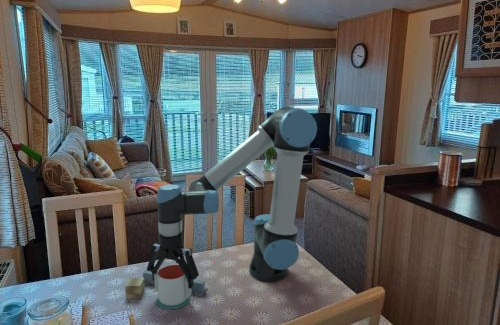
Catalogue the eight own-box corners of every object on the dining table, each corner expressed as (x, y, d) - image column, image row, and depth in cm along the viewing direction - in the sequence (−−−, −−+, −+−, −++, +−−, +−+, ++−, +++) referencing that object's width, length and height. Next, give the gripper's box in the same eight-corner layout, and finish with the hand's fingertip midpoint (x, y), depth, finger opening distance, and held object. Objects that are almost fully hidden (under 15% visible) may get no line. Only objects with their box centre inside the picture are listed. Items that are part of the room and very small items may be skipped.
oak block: (144, 290, 123) (144, 277, 122) (140, 299, 118) (140, 285, 117) (130, 291, 122) (129, 278, 121) (126, 299, 117) (125, 285, 116)
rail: (207, 289, 124) (207, 278, 123) (201, 296, 119) (200, 286, 118) (148, 277, 131) (147, 268, 130) (140, 284, 126) (139, 274, 125)
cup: (181, 309, 111) (180, 281, 109) (153, 305, 113) (151, 277, 111) (192, 292, 121) (192, 266, 119) (166, 288, 123) (165, 262, 121)
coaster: (195, 293, 121) (195, 292, 121) (179, 312, 111) (179, 311, 110) (167, 288, 124) (167, 287, 124) (150, 305, 114) (150, 304, 114)
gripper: (208, 232, 112) (209, 293, 117) (146, 223, 119) (149, 281, 124) (198, 241, 105) (199, 305, 110) (133, 231, 112) (137, 292, 117)
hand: (173, 293), depth 117 cm, fingers open, 11 cm apart
